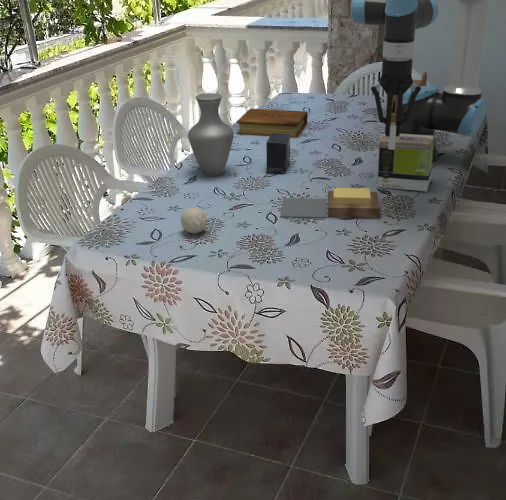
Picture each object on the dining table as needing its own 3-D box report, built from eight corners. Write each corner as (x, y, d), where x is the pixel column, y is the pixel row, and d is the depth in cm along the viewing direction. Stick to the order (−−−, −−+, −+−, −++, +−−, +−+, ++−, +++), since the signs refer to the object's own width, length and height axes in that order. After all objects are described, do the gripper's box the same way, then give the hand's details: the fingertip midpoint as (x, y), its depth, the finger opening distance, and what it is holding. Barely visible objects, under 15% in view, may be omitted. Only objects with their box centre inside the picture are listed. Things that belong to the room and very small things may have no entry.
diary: (307, 125, 270) (307, 111, 268) (296, 139, 254) (297, 124, 252) (251, 121, 276) (250, 107, 274) (237, 135, 260) (236, 120, 258)
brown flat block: (376, 201, 199) (377, 191, 197) (379, 218, 188) (380, 208, 187) (327, 200, 200) (328, 191, 199) (327, 217, 189) (328, 207, 188)
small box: (285, 174, 220) (285, 142, 216) (265, 173, 222) (265, 142, 217) (291, 163, 230) (291, 132, 225) (271, 162, 231) (271, 132, 226)
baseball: (187, 240, 179) (185, 216, 176) (178, 229, 185) (176, 206, 182) (211, 235, 181) (210, 211, 178) (202, 224, 187) (200, 202, 184)
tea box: (430, 181, 212) (435, 134, 206) (427, 193, 204) (431, 144, 197) (381, 176, 217) (384, 130, 210) (376, 187, 208) (379, 140, 202)
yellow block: (369, 195, 195) (369, 188, 194) (370, 204, 189) (370, 197, 188) (333, 194, 196) (333, 187, 195) (333, 204, 190) (333, 197, 189)
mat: (326, 200, 200) (326, 198, 200) (326, 218, 189) (326, 217, 189) (283, 199, 202) (283, 198, 201) (280, 217, 190) (280, 216, 190)
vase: (218, 183, 214) (214, 104, 203) (181, 176, 221) (175, 98, 210) (243, 169, 225) (241, 93, 214) (207, 162, 232) (203, 88, 221)
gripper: (372, 61, 172) (367, 152, 182) (425, 61, 170) (417, 152, 181) (370, 55, 178) (366, 143, 189) (422, 55, 177) (414, 143, 188)
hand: (391, 147), depth 185 cm, fingers closed
